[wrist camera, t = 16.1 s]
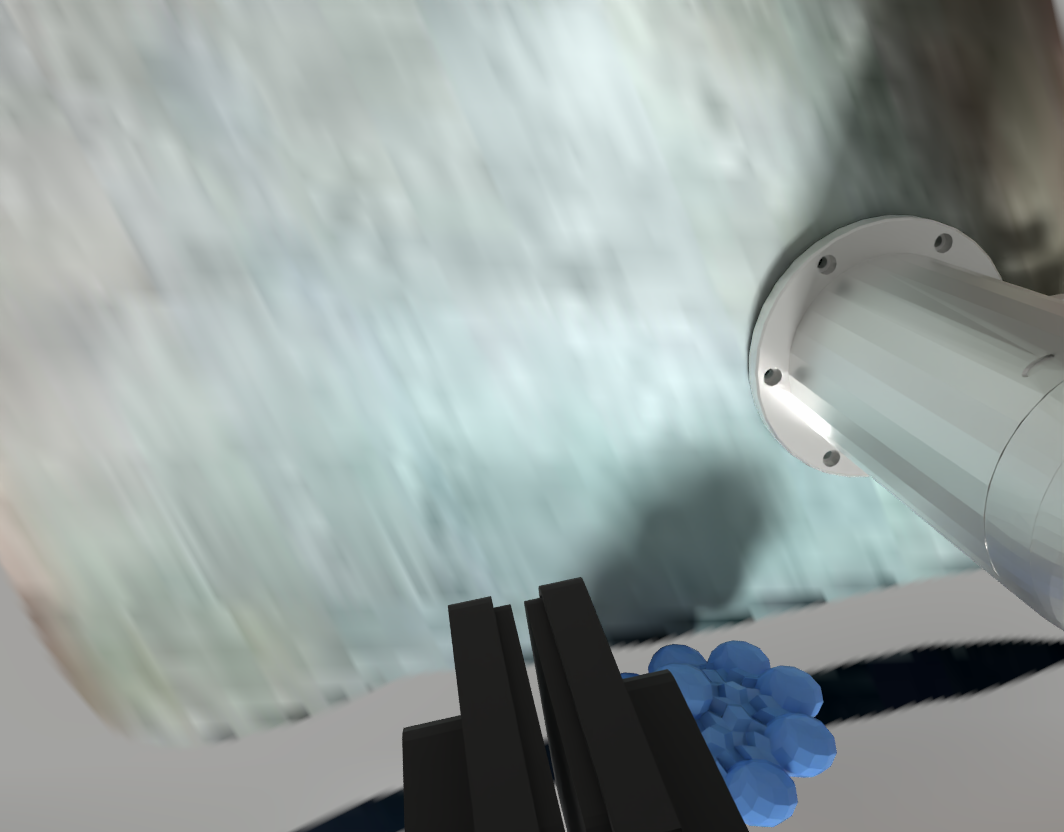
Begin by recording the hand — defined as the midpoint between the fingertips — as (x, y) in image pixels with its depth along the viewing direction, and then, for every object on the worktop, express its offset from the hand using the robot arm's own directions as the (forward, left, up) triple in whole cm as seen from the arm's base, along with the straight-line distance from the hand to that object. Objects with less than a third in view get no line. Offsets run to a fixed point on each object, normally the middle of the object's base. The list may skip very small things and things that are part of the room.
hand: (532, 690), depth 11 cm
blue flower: (-8, +22, -29) cm, 38 cm away
